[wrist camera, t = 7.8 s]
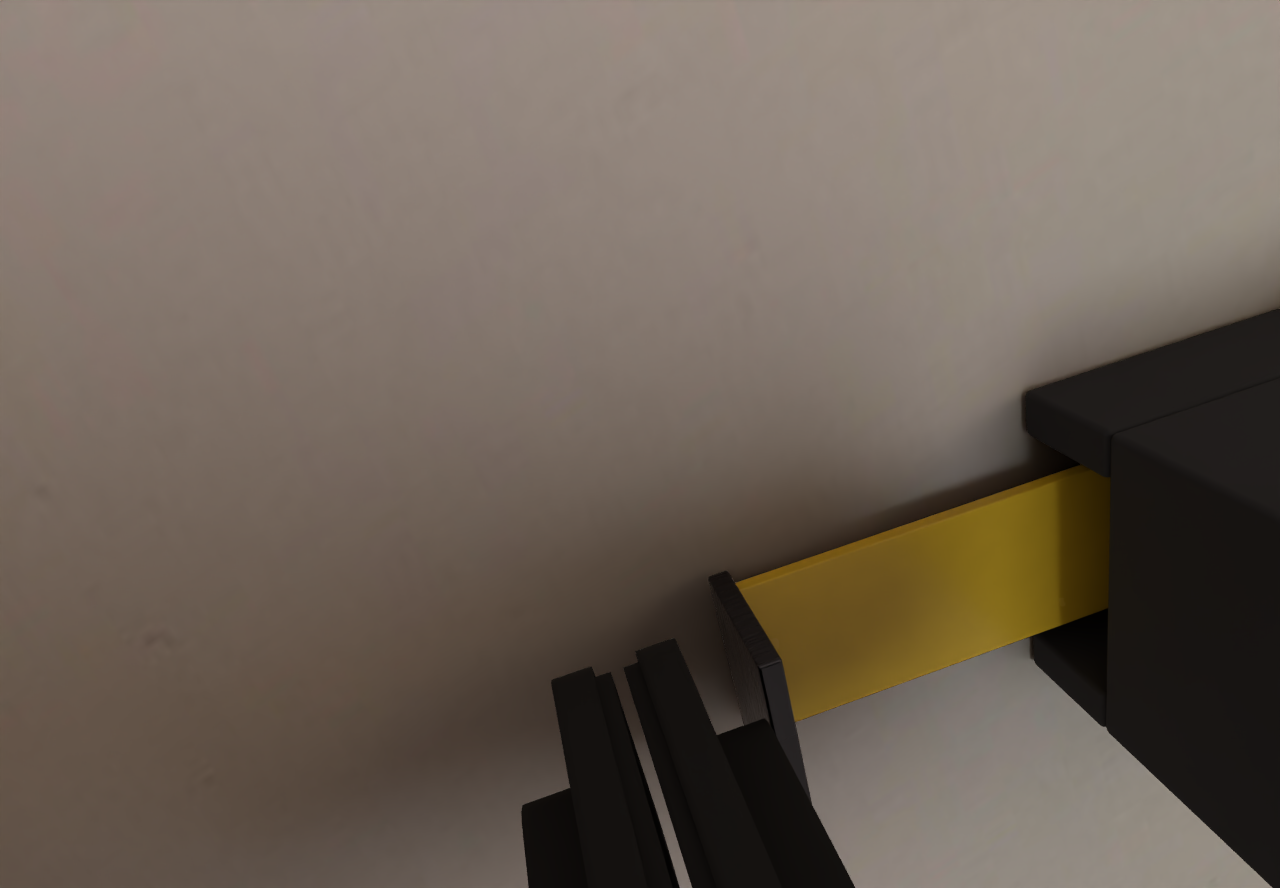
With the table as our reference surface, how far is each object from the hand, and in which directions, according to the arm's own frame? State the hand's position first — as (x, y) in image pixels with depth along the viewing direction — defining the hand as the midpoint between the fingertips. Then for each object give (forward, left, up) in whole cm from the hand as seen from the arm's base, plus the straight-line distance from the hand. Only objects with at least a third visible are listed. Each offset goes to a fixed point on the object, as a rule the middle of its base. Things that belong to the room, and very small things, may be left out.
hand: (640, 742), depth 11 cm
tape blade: (+7, 0, -1) cm, 7 cm away
